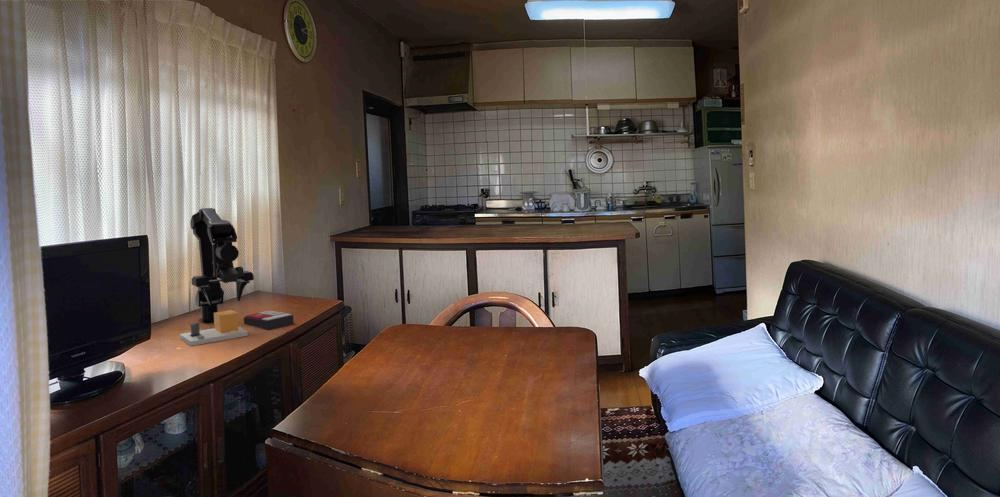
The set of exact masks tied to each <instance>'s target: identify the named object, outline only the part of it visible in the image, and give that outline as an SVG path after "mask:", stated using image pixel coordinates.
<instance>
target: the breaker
mask: <svg viewBox="0 0 1000 497" xmlns="http://www.w3.org/2000/svg"><path fill="white" fill-rule="evenodd" d="M200 328H201V327H200V322H191V323H190V332H191V336H198V335H200V331H201V330H200Z"/></svg>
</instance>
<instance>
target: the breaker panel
mask: <svg viewBox="0 0 1000 497" xmlns="http://www.w3.org/2000/svg"><path fill="white" fill-rule="evenodd" d="M248 336H249V333H248V330H246V329H244V328H242V327H241V326H239V330H232V331H229V332H224V333H220V332H218V331H216V330H215V327H214V328H207V329H202V330H200V335H198V336H191V331H190V332H185V333H180V334H179V339H180V340H182V342H184V343H186V345H189V347H193V346H199V345H205V344H208V343H214V342H220V341H226V340H231V339H237V338H241V337H242V338H243V337H248Z"/></svg>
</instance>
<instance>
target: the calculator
mask: <svg viewBox="0 0 1000 497" xmlns="http://www.w3.org/2000/svg"><path fill="white" fill-rule="evenodd" d="M243 324H244V325H246V326H251V327H255V328H260V329H261V330H262V329H263V330H267V331H271V330H274V329H278V328H282V327H286V326H291V325H294V324H295V323H294V315H293V314H291V313H285V312H281V311H273V310H266V311H260V312H258V313H257V312H256V313H251V314H248V315H247V314H246V315H245V316H244V317H243Z"/></svg>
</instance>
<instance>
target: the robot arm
mask: <svg viewBox="0 0 1000 497" xmlns="http://www.w3.org/2000/svg"><path fill="white" fill-rule="evenodd" d="M189 224H190V229H191V230H192V234H193V235H194V237H195V238H196V239H197V240H198V249H199V259H200V270H201V275H196V276H195V275H194V276H192V277H191V286H194V287H196V288H197V291H196V295H195V299H194V300H195V305H196V306H197V307H199V308H200V307H201V308H200V310H201V311H200V312H201V318H200V317H199V318H198V320H199V321H200V322H202V323H204V324H205V323H206V324H207V323H214V313H215V312H219V305H223V304H224V297H225V291H224V290H223V287H222V284H221V283H220V282H222V283H224V284H228V283H232V282H233V283H235V284H236V285H235V287H236V289H235V290H236V300H237V302H240V301H241V297H242V295H243V292H244V289H245V287H246V285H247V284H251V281H254V279H255V276H254V273H253V272H251V271H248V270H244V267H243V266H237V267H235V266H234V263H233V262H235V261H236V260H237V259H238V257H239V255H240V252H239V249H238V247H237V246H236V245H234V244H233V243H237V241H238V236H237V232H236V229H235V227H234V225H233V224H232V223H231V222H230V221H229V220H224V219H222V218H221V216H220V215H219V214H218V213H217V210H216V208H213V207H205V208H204V207H202V208H199V210H198V211H197V212H196V213H194V214H193V215H191V218H190V223H189Z"/></svg>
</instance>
